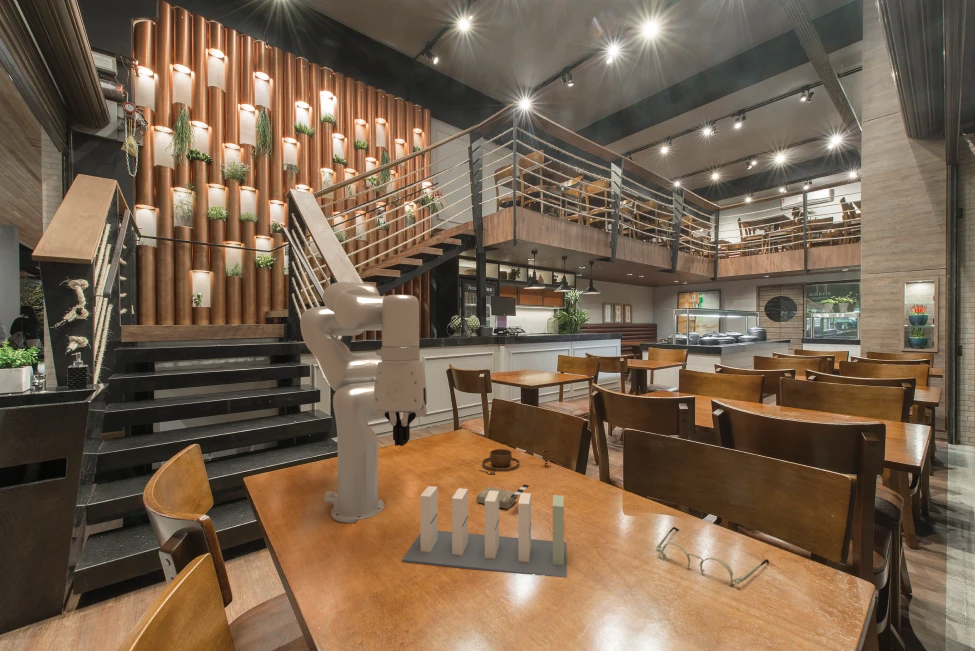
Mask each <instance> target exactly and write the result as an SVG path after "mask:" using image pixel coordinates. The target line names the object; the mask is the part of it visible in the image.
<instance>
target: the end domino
mask: <svg viewBox="0 0 975 651" xmlns="http://www.w3.org/2000/svg"><path fill="white" fill-rule="evenodd" d="M564 498H565V496H564V495H562V494H561V495H557V494H553V499H552V541H553V564H554V565H563V566H564V542H565V504H564V503H565V499H564Z"/></svg>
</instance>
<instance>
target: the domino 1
mask: <svg viewBox="0 0 975 651" xmlns="http://www.w3.org/2000/svg"><path fill="white" fill-rule="evenodd" d="M438 489H439V488H438V486H430V485H428V486H427V487H426V489H424V491H423V492H422V493H421V495H420V497H419V498H420V502H419V505H420V507H419V508H420V509H419V511H420V512H419V513H420V524H419V525H420V533H419V534H420V542H421V551H424V552H431V550H432V548H433V547H434V545H435V543H436V541H437V540H438V531H439V530H438V529H439V528H438V526H439V524H438V523H439V522H438V521H439V518H438V516H439V514H438V513H439V510H438V509H439V508H438V507H439V502H438V501H439V500H438V499H439V498H438V494H439V493H438V492H439V490H438Z"/></svg>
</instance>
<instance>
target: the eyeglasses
mask: <svg viewBox="0 0 975 651" xmlns="http://www.w3.org/2000/svg"><path fill="white" fill-rule="evenodd" d="M673 530H675V531H676V532H679V531H680V529H678V528H677V527H675V526H673V527H672V528H671V529H670V530H669V531H668V532H667V533H666V535H665V536H664V537H663V538H662V539H661V541H660V542H658V544H657V546H656V548H655V552H658V553H661V556H662V560H663V561H666V559H668V557H667V555H666V553H665V552H664V551H665V549H666V547H667V546H668V545H674V546H676V547H678V548H680V549H681V551H683V553H684V554H685V556H686V558H687V561H688V562H687V568H686V570H688V569H689V568H690V566H691V565H690V563H691V557H695V558H697V559H700V560H701V561H700V562H699V567H700V568H699V569H700V573H701V576H704V575H705V574H704V573H705V569H704V568H703V564H704V562H705V561H708V560H713V561H716V562H718V563H720V564H721V565H723V567H724V568H725V569H726V570H727V572H728V574H729V577H730V578H729V579H730V583H729V587H731V586H732V584H733V583H735V584H737V585H740V583H743V582H745V581H746V580H747V579H748V578H749V577H750V576H752V575H753V574H755V572H756V571H757V570H758V569H760V568H761V566H764V564H766V563H769V559H765V560H763V561H761V563H759V564H758V565H757V566H755V567H753V569H751V570H750V571H748V572H747V573H746V574H745V575H743V576H739V577H740V578H739V577H735V578H733V576H734V573H733V572H734V571H733V570H732V568H731V567H730V565H729V564H728V563H726V562H725V561H723V560H722V559H719V558H718V557H708V558H707V557H706V558H705V559H703V558H702V557H700V556H699V555H696V554H693V553H687V551H686V550H685V548H683V546H682V545H680V544H679V543H677V542H675V541H670V542H667V543H666V544H665V545H663V544H664V543H665V541H666V539H667V538H668V536H669V535H670V534H671V533H672V531H673ZM662 546H663V547H662ZM690 556H691V557H690Z"/></svg>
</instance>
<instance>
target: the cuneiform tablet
mask: <svg viewBox="0 0 975 651" xmlns="http://www.w3.org/2000/svg"><path fill="white" fill-rule="evenodd" d="M529 487H530V485H529V484H523V485H522V486H520V487H519V488H518V489H517V490H516V491H513V490H508V489H503V488H502V489H501V488H498V487H497V488H496V487H492V486H487V487H486V488H485V489H484V490H481V491H480V492H479V493H478V494H477V495H476V502H477V503H480V504H483V505H485V499H486V497H487V494H488V492H489V491H499V509H500V508H501V509H503V510H504V509H505V510H507V509H510V508H511V507H512V506H513V505H514V504H515V503H516V500H517V499H518V497H520V495H521V493H524V492H525V490H527V488H529Z"/></svg>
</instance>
